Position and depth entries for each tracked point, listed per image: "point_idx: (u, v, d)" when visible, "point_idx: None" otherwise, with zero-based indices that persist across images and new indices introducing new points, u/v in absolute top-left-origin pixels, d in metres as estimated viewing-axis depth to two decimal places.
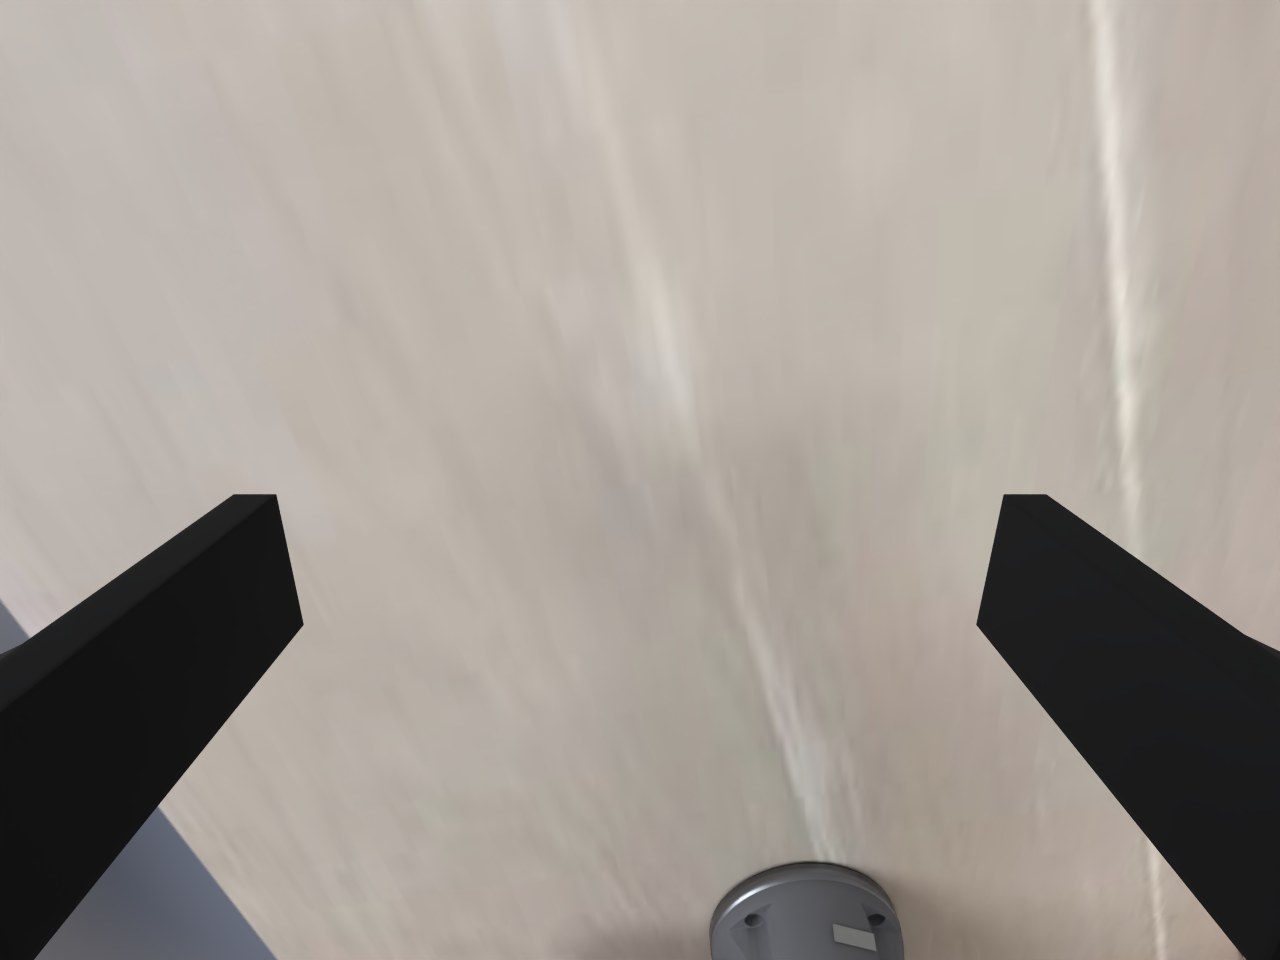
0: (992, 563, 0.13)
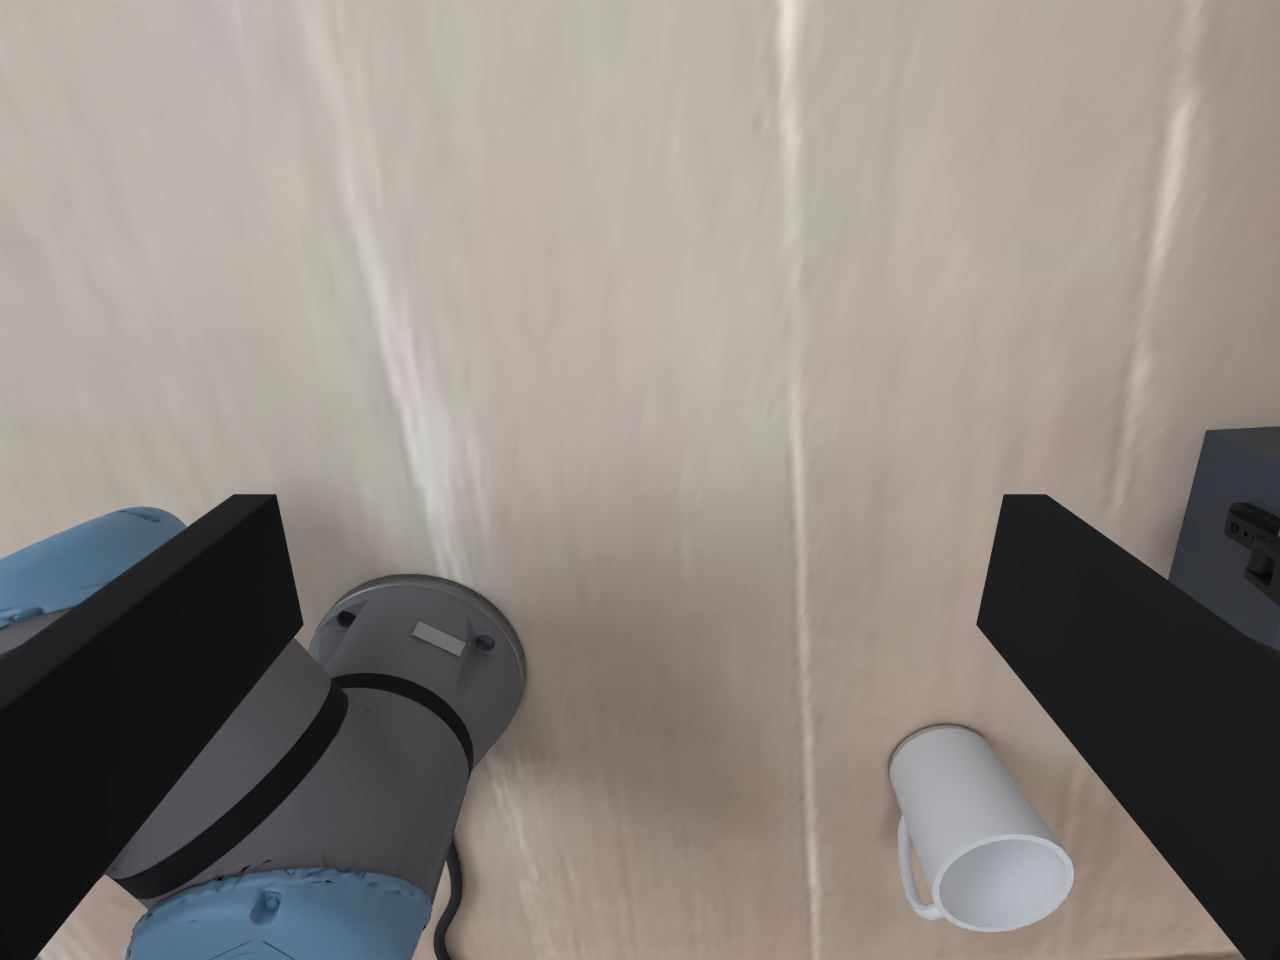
0: (992, 563, 0.13)
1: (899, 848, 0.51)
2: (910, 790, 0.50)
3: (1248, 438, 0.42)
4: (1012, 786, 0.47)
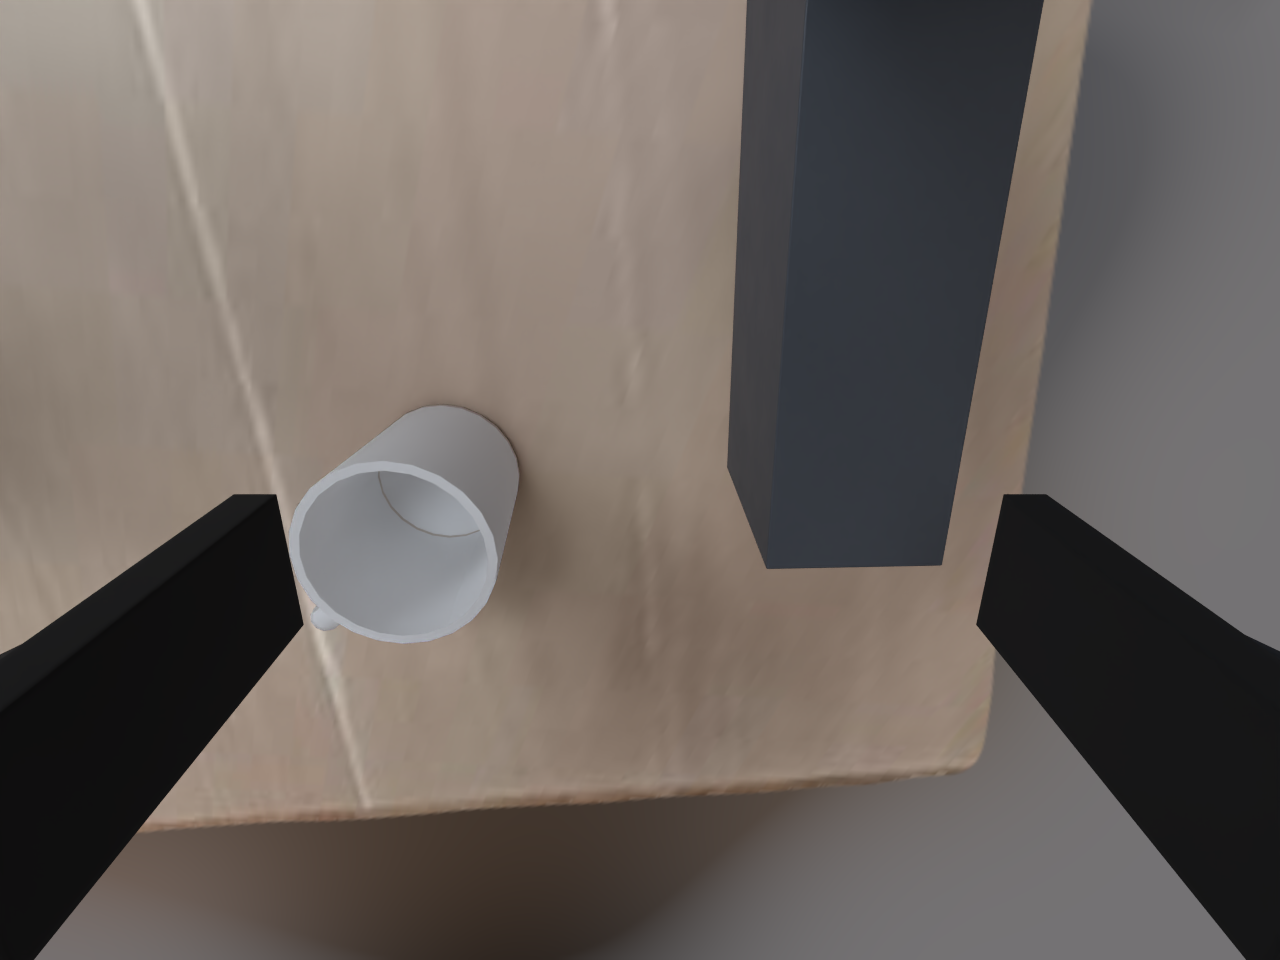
0: (991, 563, 0.13)
1: None
2: None
3: None
4: (461, 444, 0.33)
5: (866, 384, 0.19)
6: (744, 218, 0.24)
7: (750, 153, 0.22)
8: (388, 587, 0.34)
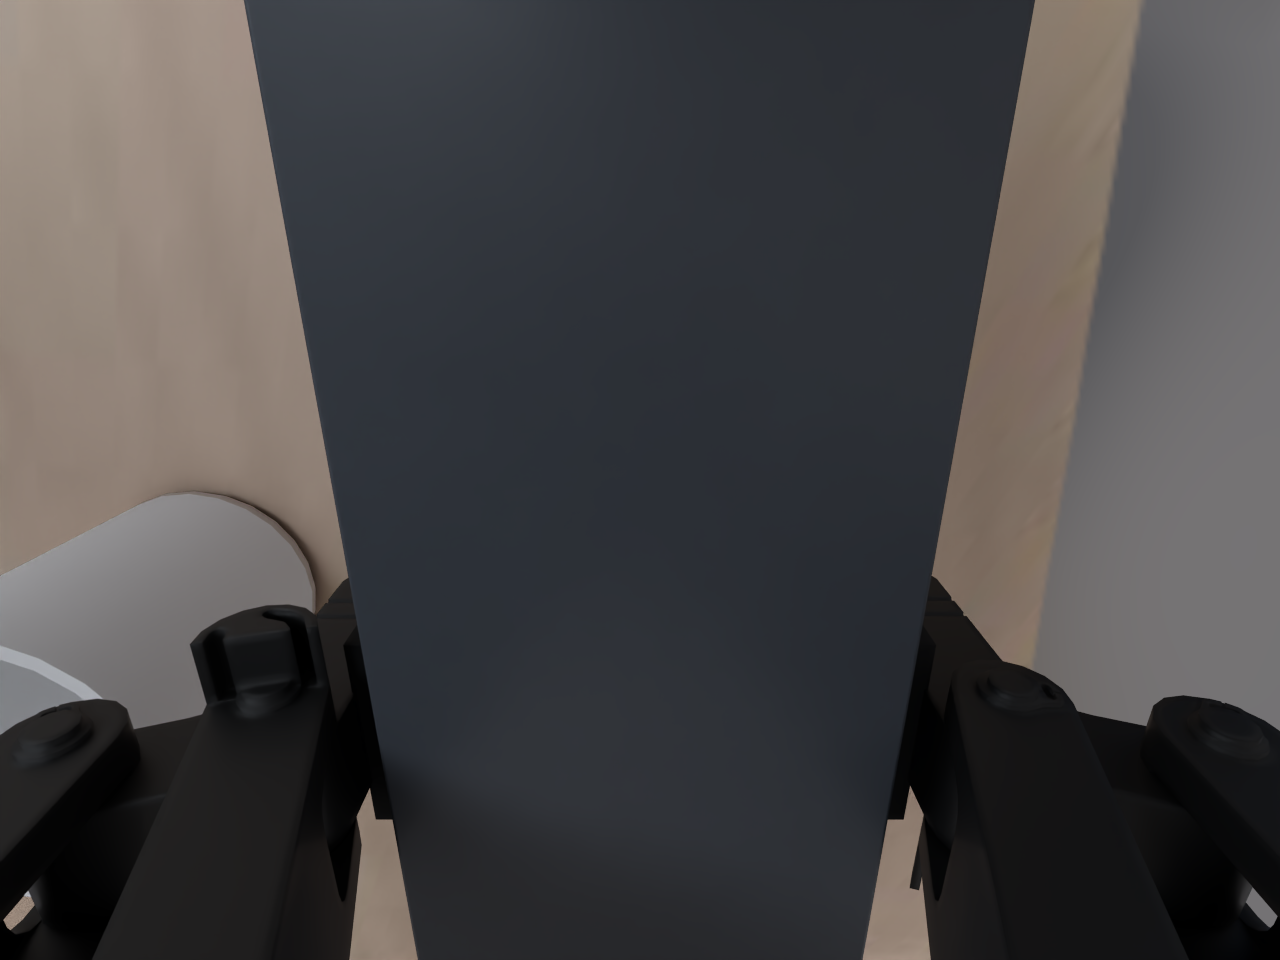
0: None
1: None
2: None
3: None
4: (157, 574, 0.21)
5: (609, 688, 0.07)
6: None
7: None
8: None
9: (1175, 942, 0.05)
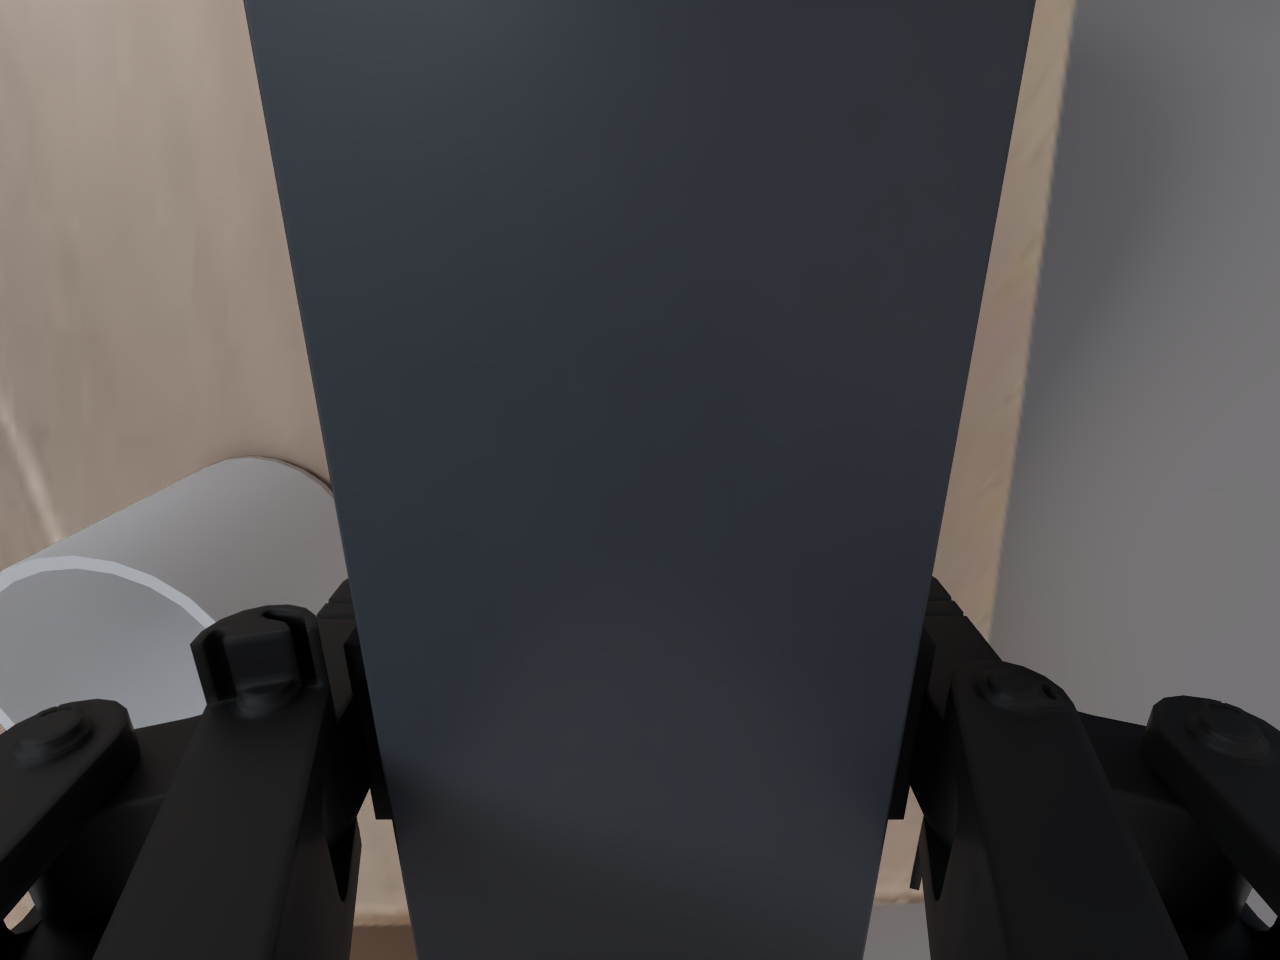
0: None
1: None
2: None
3: None
4: (235, 518, 0.25)
5: (609, 688, 0.07)
6: None
7: None
8: (149, 699, 0.26)
9: (1175, 942, 0.05)
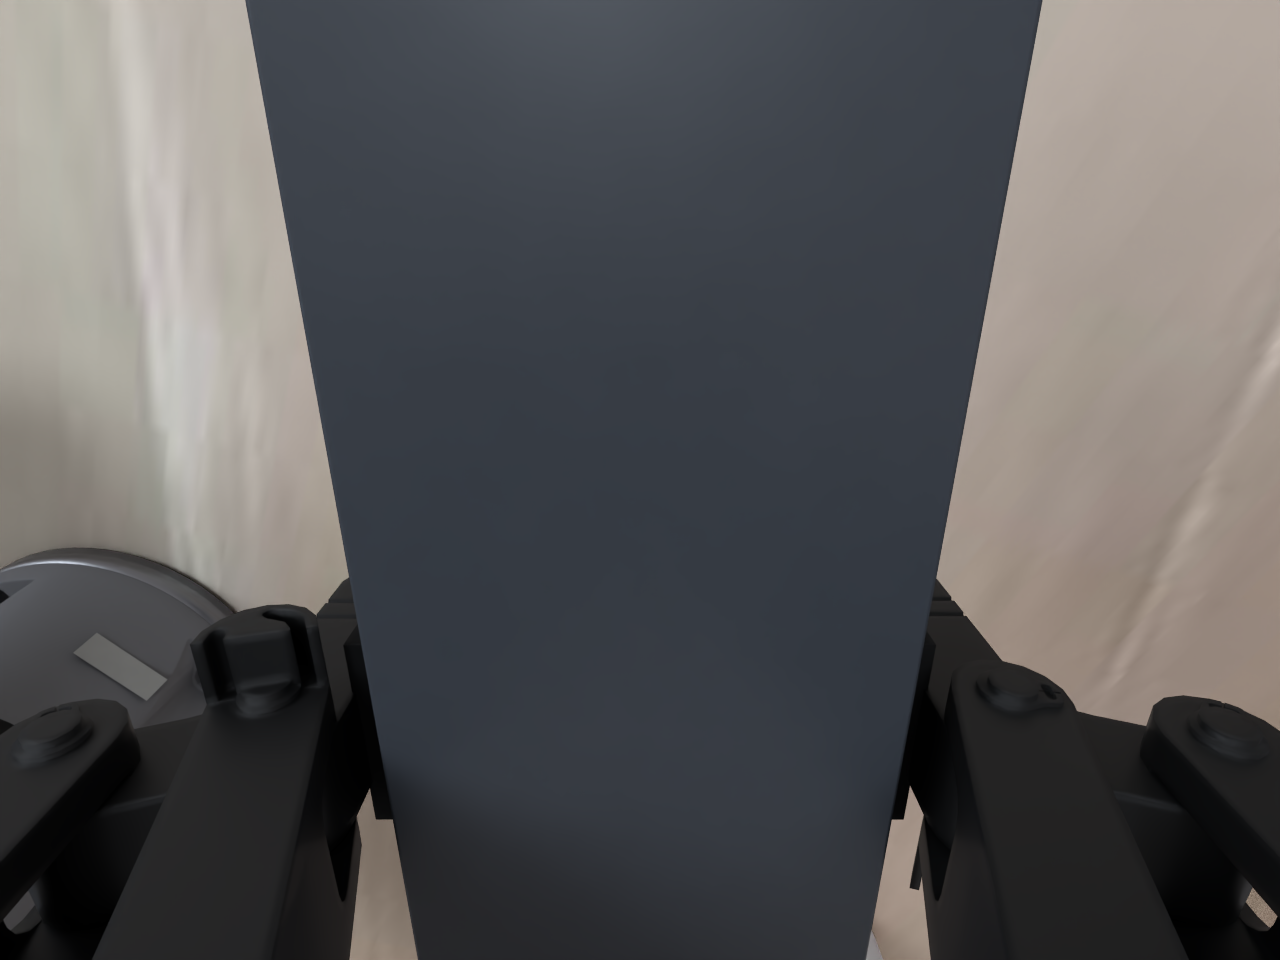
0: None
1: None
2: None
3: None
4: None
5: (612, 688, 0.07)
6: None
7: None
8: None
9: (1175, 942, 0.05)
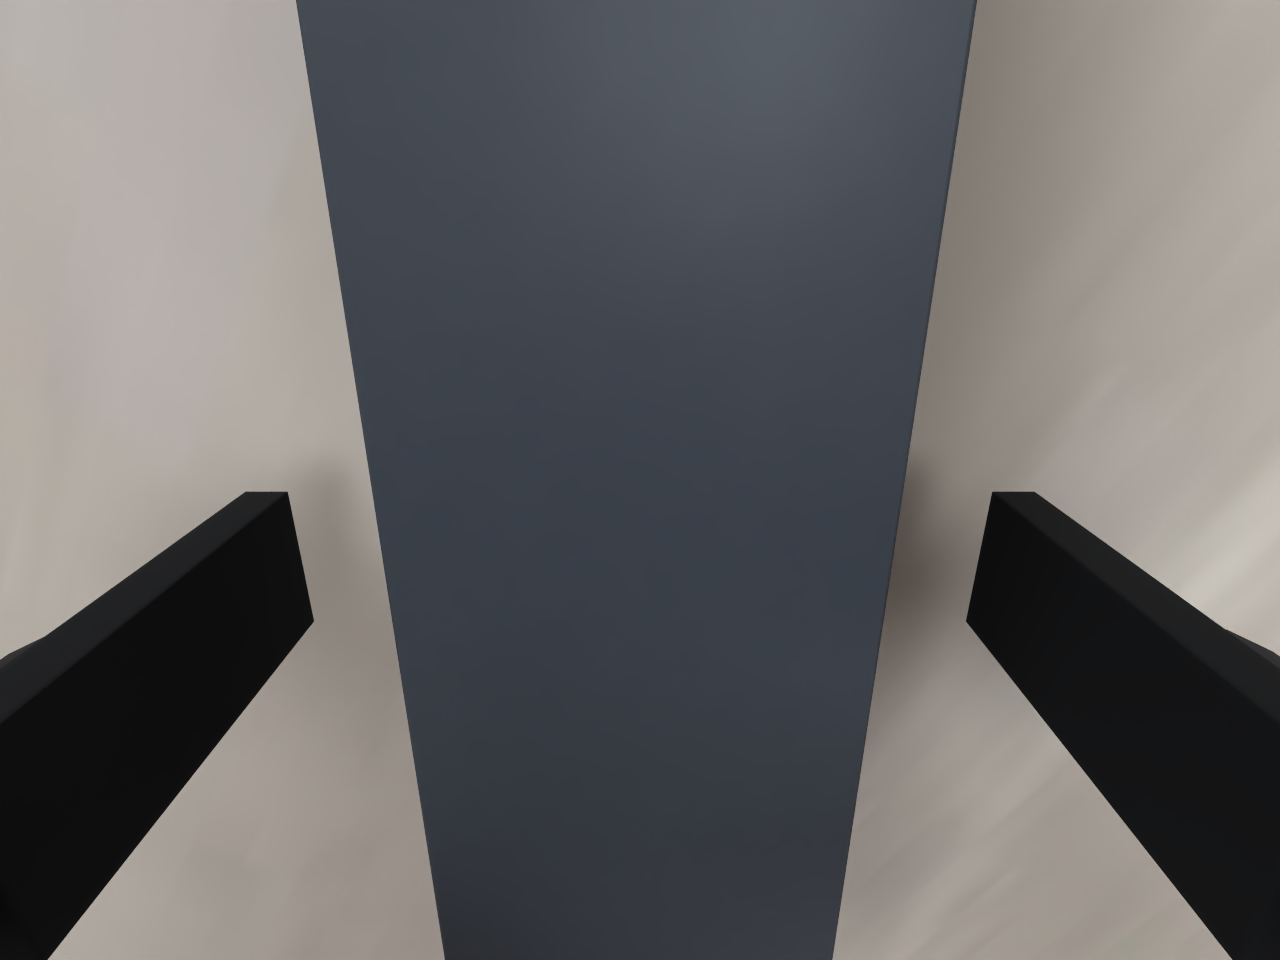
0: (981, 560, 0.13)
1: None
2: None
3: None
4: None
5: (610, 636, 0.08)
6: None
7: None
8: None
9: None
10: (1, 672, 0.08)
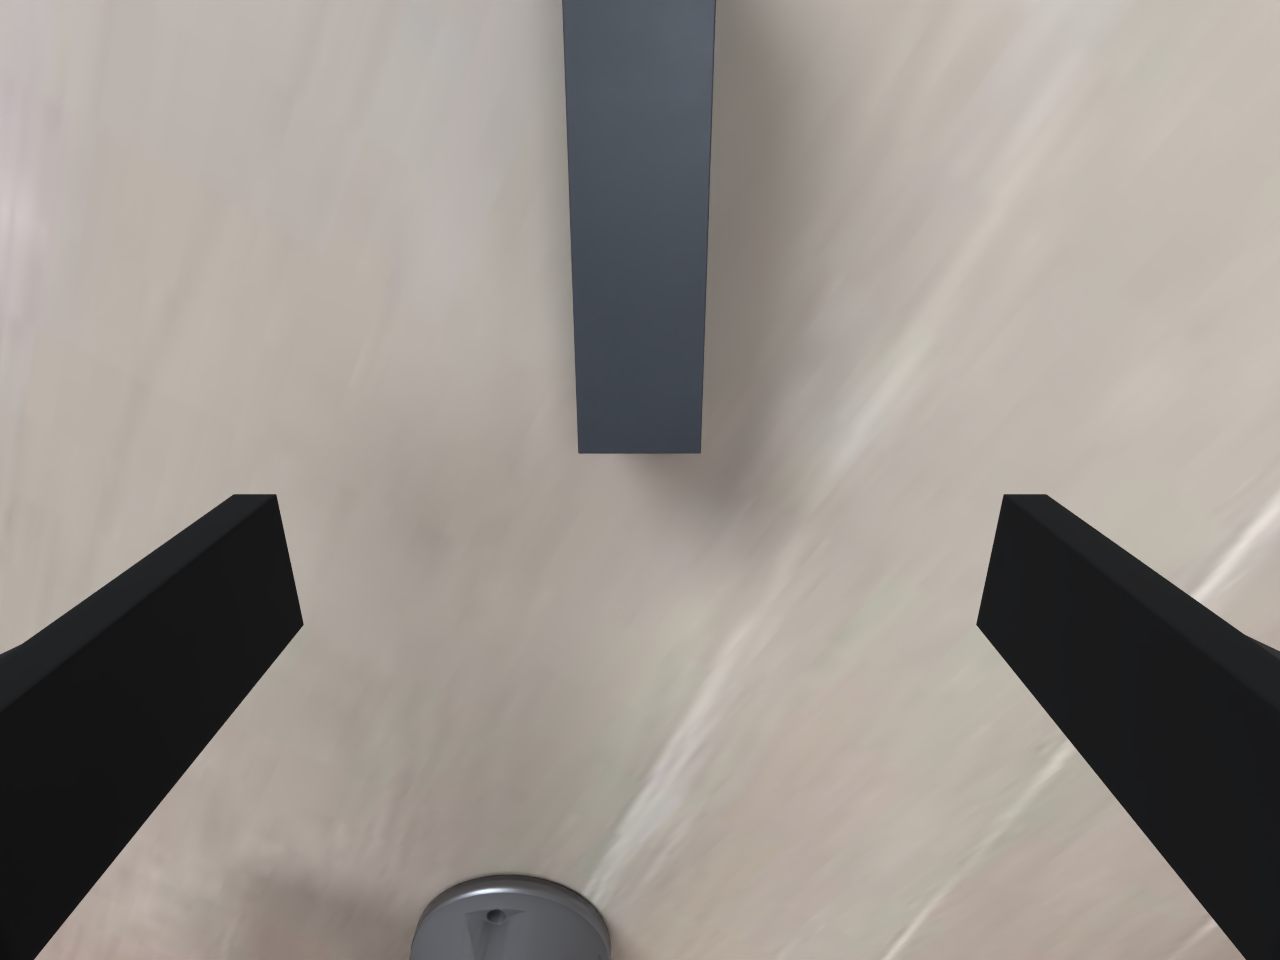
0: (992, 563, 0.13)
1: None
2: None
3: None
4: None
5: (632, 322, 0.28)
6: None
7: None
8: None
9: None
10: None
